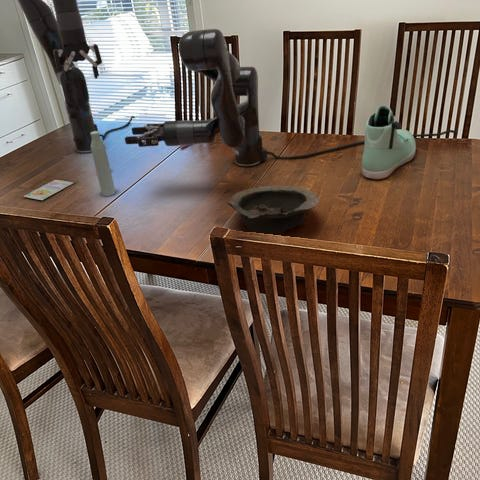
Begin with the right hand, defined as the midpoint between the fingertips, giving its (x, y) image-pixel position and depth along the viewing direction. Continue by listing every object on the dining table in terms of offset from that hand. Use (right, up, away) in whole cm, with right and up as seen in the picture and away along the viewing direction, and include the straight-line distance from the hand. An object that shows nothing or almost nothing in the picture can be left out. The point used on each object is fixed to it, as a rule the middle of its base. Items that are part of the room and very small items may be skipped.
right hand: (128, 135), depth 149 cm
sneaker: (+86, -5, +17) cm, 88 cm away
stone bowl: (+44, -27, -13) cm, 53 cm away
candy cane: (+14, +7, +47) cm, 50 cm away
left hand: (-17, +20, +10) cm, 29 cm away
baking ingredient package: (-31, -15, +16) cm, 38 cm away
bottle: (-9, -17, +11) cm, 22 cm away
